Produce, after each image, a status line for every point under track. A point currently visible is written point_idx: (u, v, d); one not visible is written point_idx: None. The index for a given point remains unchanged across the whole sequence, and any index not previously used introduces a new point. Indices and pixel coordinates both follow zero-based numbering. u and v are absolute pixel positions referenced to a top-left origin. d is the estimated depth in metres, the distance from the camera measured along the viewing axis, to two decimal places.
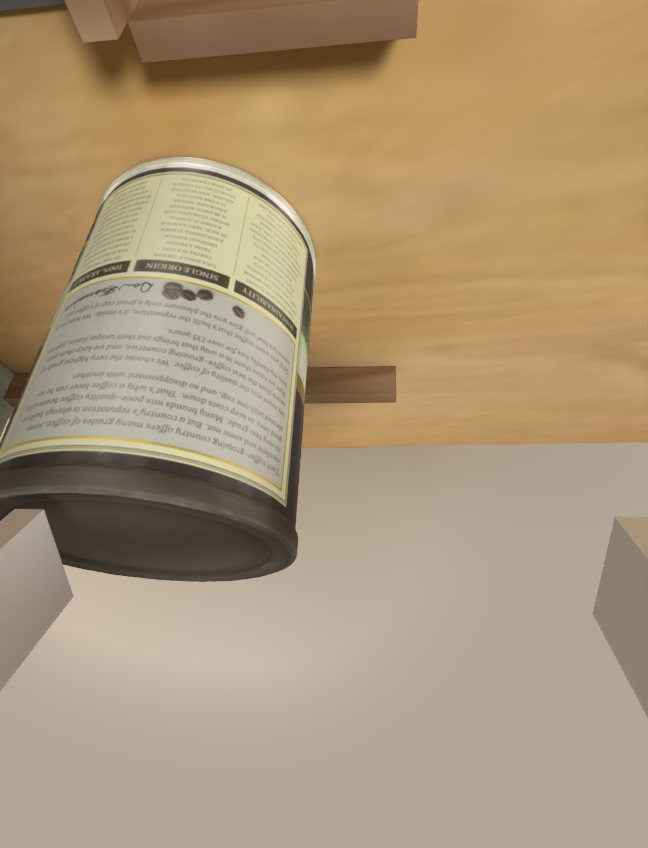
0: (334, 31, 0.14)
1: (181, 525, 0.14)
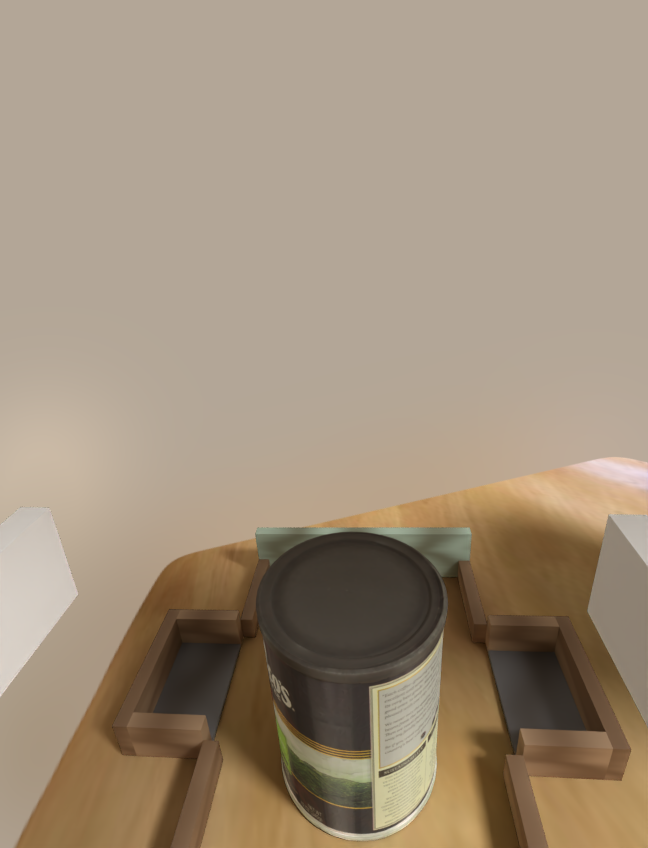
0: None
1: (389, 622, 0.24)
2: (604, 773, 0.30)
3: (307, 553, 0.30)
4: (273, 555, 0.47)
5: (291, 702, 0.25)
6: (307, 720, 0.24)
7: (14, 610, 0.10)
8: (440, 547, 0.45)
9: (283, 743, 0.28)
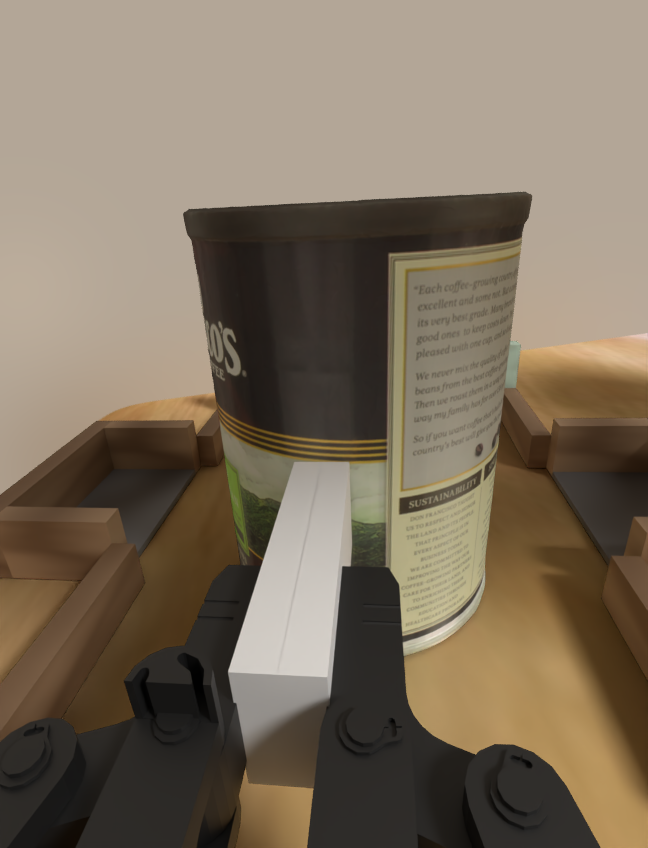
0: None
1: None
2: None
3: None
4: None
5: (240, 356, 0.13)
6: (268, 384, 0.13)
7: None
8: None
9: (235, 495, 0.17)
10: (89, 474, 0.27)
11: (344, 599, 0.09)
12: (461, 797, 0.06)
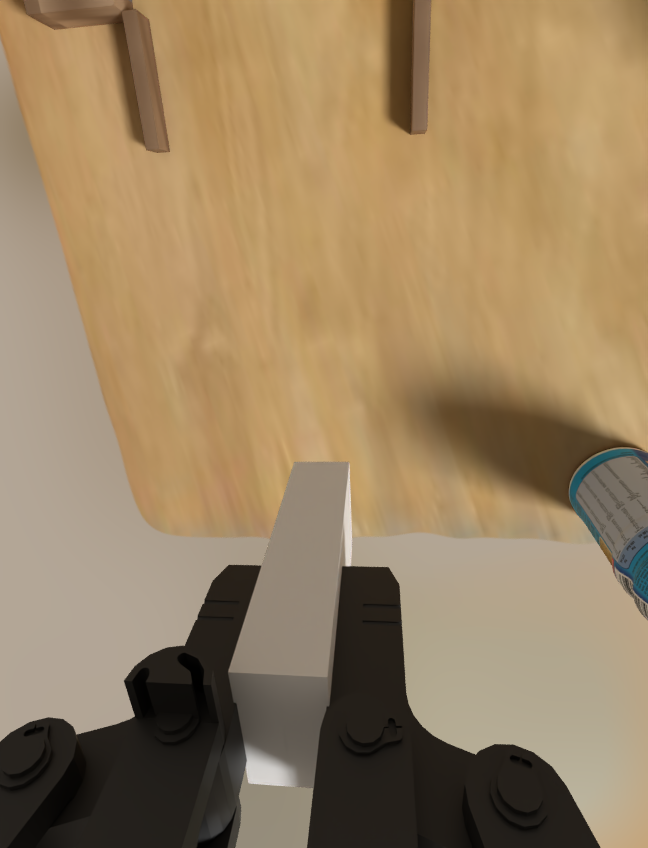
0: (418, 90, 0.32)
1: None
2: None
3: None
4: None
5: None
6: None
7: None
8: None
9: None
10: None
11: (344, 599, 0.09)
12: (461, 797, 0.06)
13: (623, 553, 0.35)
